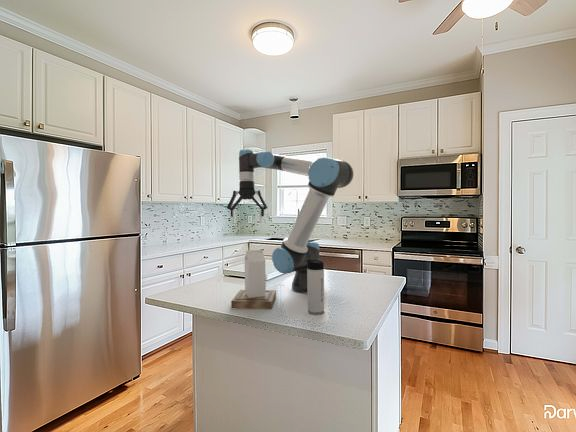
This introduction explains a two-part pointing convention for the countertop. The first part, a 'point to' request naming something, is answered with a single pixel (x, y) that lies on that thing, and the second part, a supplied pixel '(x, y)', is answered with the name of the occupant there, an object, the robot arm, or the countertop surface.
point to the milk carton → (255, 274)
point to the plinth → (253, 301)
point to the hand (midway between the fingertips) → (247, 223)
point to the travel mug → (315, 287)
